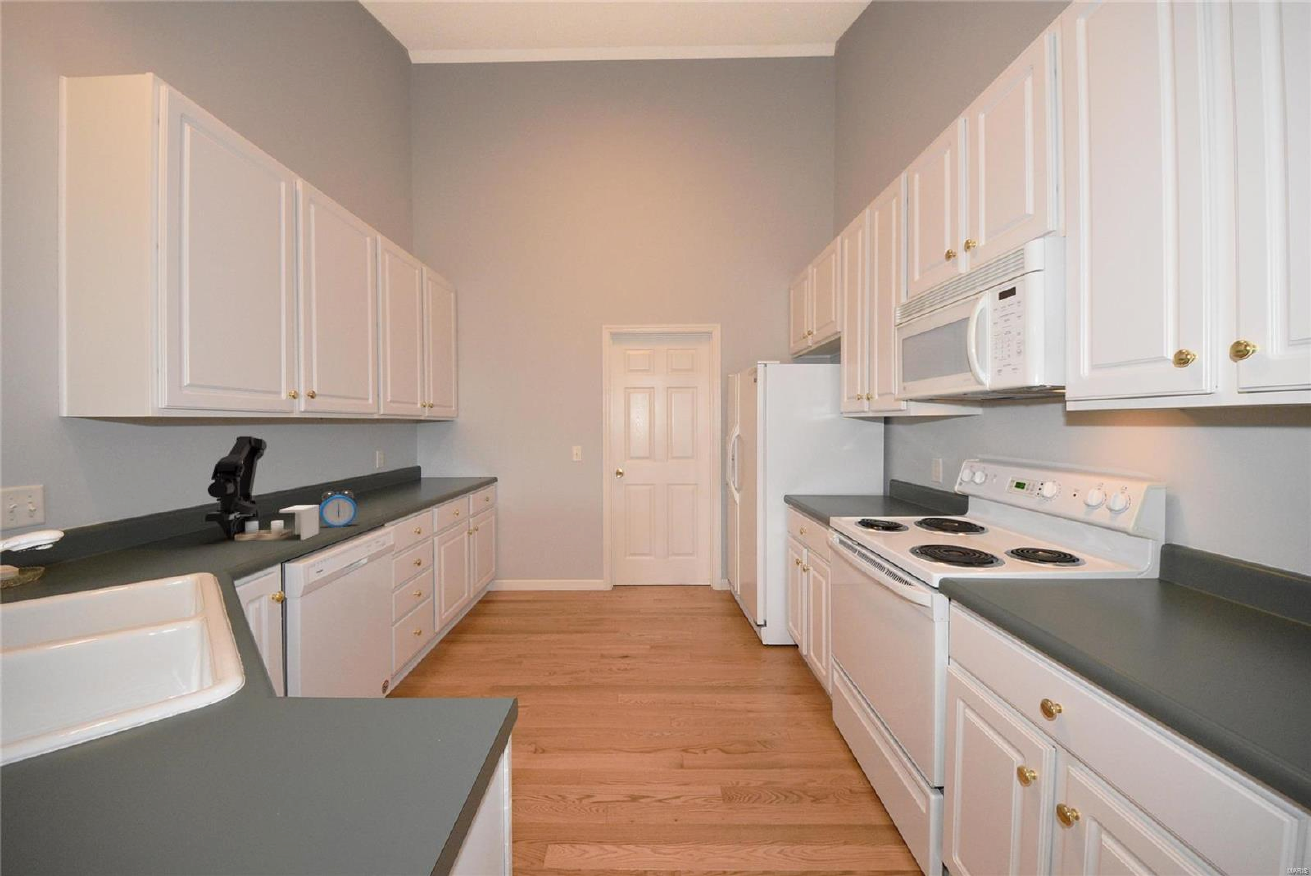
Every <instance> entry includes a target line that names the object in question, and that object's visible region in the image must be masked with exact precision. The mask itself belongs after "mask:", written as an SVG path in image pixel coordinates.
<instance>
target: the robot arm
mask: <svg viewBox="0 0 1311 876" xmlns="http://www.w3.org/2000/svg"><path fill="white" fill-rule="evenodd" d="M266 450H267V441H265V440H264V439H263V438H256V437H254V436H252V435H242V436H241V435H240V436H237V437H236V440H235V443H234V445H233V446H232V448H231V449H230V452H229V453H228V455H226V456H223V457H221V458H220V459H218V461H217V463H216V464H215V465H214V468H213V472H212V475H211V478H210V479H211V480H212V481H213V482H212V483H210V484H209V485H208V488H207V493H208V494H209V496H211V497H212V498H215V499H216V502H219V508H218V509H216V511H213V512H207V513H206V514H205V515H204V517H203V518H204V519H203V522H206V523H207V522H209V523H210V522H216V523H217V524H218V525H219V526H220V528H221V529H222V531H223V533H224V534H225V535H226V537H227V538H232V537H233V535H234V534H235V535H237V534H240V533H243V532H245V522H247V521H257V520H256V518H259V517H260V510H259V509H260V504H259V500H256V498H255V497H254V495H253V491H254V484H255V477H256V471H257V467H258V462H259V460H260V459H261V458H262V457H264V455H265V451H266Z"/></svg>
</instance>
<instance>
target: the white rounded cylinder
mask: <svg viewBox="0 0 1311 876" xmlns="http://www.w3.org/2000/svg"><path fill="white" fill-rule="evenodd" d="M284 526H285V525H284V519H282V520H281V519H279V520H278V519H277V520H271V522H270V530H271V534H281V533H283V532H284V530H285V529H284Z"/></svg>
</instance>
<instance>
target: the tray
mask: <svg viewBox="0 0 1311 876" xmlns="http://www.w3.org/2000/svg"><path fill="white" fill-rule="evenodd" d="M293 532H294V530H293V529H284V532H283V533H281V534H271V529H270V530H269V529H268V530H263V529H262V530H258V534H253V535H245V532H243V533H238V534H235V535H234V541H269V540H275V541H277V540H283V539H285V538H288V537H291V536H293V535H294V534H293Z"/></svg>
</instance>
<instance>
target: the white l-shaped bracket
mask: <svg viewBox="0 0 1311 876" xmlns="http://www.w3.org/2000/svg"><path fill="white" fill-rule="evenodd" d="M319 509H320V505H319V504H309V505H308V504H303V505H302V504H301V505H292V506H290V507H286V508H282V509H279V514H287V513H288V514H289V513H290V514H295V515H294V525H295V526H294V533H295V534H294V535H300V541H302V540H303V541H304V540H306V539H309V538H312V537H314V536H316V535H319V534H320V514H319Z"/></svg>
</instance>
